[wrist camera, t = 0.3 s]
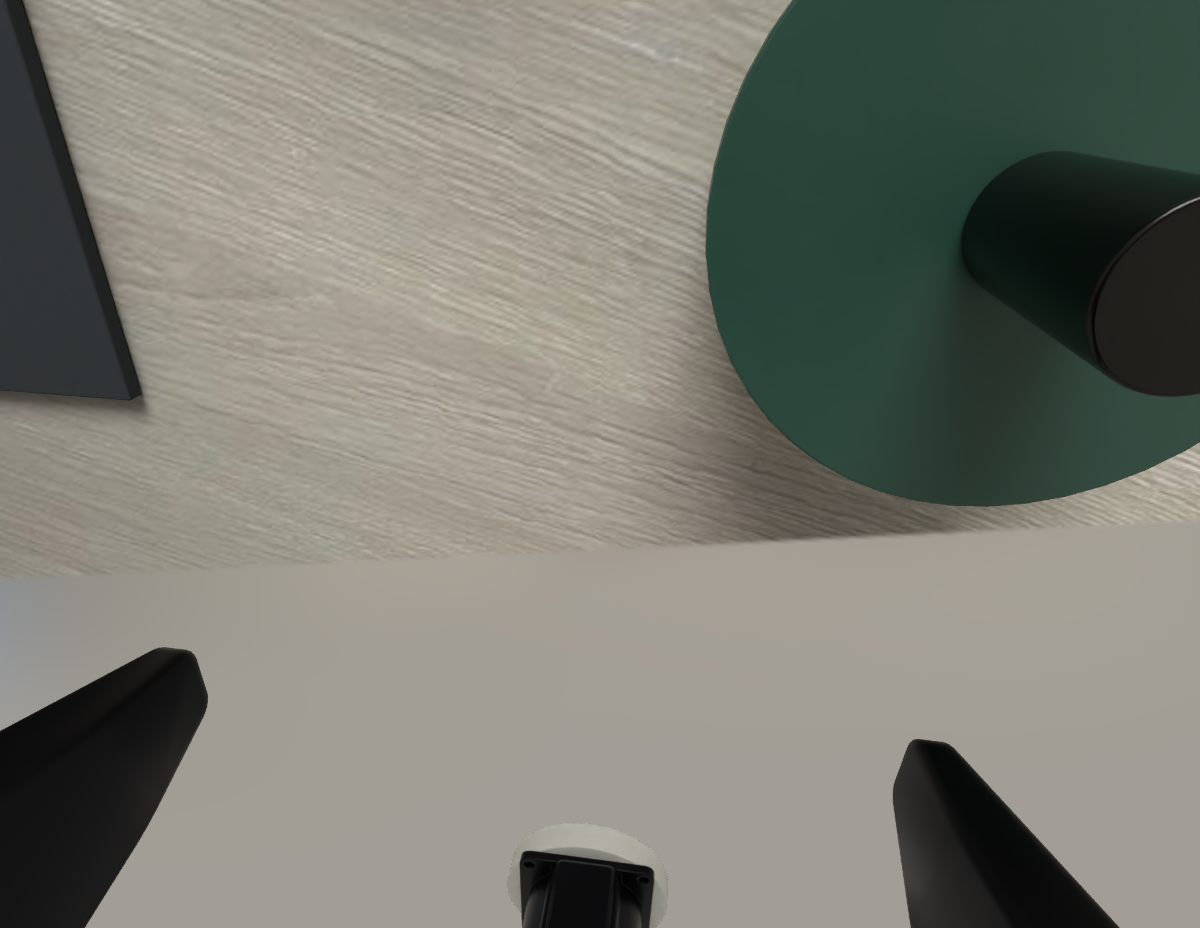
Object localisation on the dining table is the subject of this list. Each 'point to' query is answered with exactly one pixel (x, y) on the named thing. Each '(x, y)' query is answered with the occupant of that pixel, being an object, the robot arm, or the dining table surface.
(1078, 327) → the tin lid
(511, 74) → the dining table surface
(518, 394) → the dining table surface
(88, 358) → the mat
